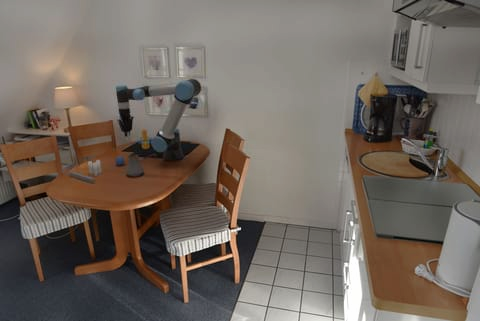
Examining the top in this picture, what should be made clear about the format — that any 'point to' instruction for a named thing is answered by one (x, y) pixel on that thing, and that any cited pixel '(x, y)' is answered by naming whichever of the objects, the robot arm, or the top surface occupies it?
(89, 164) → the back right pin
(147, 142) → the yellow tall rounded piece
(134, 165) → the coffee pot
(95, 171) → the back left pin
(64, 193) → the top surface
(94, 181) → the grey long bar
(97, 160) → the front pin
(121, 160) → the ball
